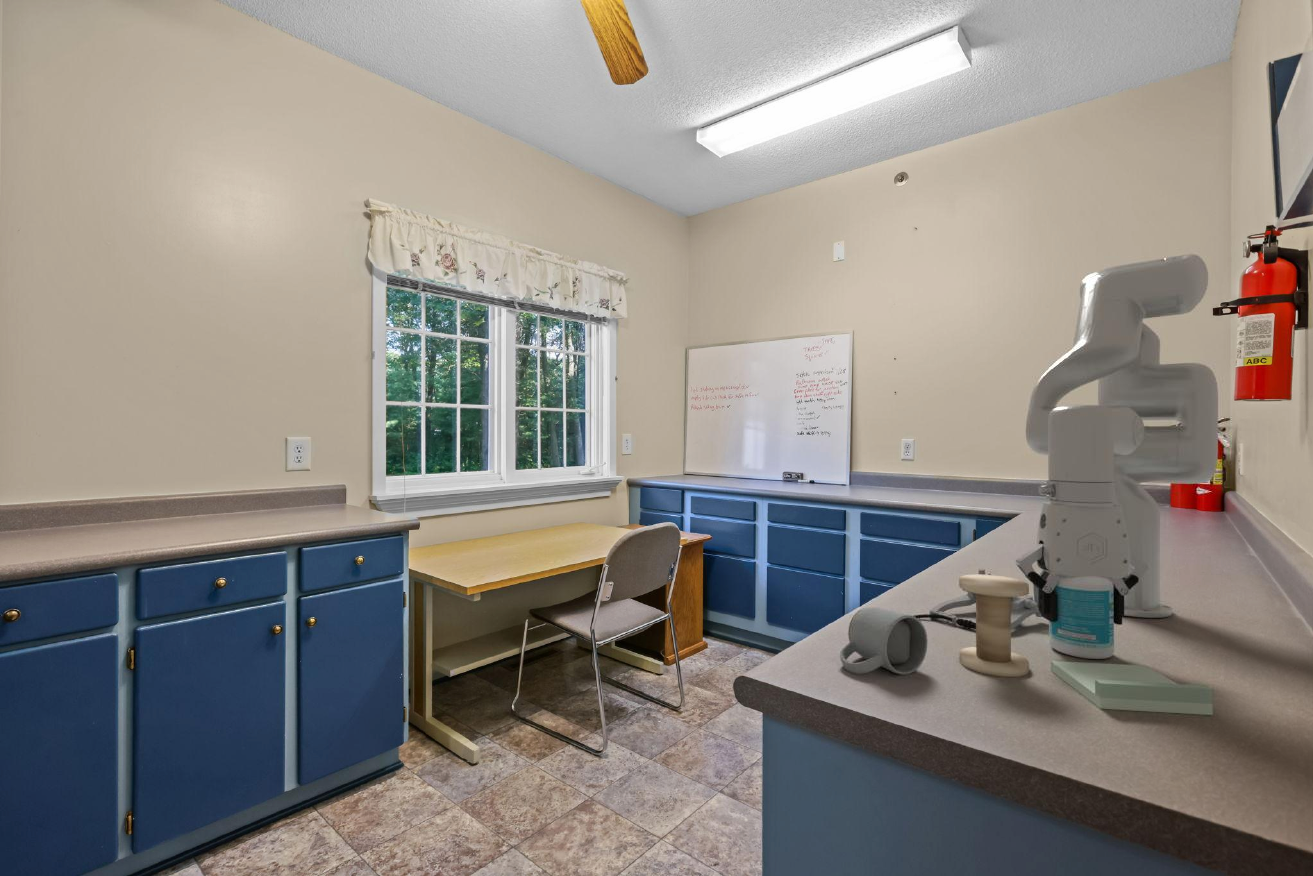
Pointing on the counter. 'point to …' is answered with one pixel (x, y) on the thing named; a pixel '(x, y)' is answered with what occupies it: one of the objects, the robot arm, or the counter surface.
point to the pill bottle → (1084, 617)
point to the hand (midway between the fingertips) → (1080, 619)
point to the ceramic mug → (885, 641)
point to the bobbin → (993, 626)
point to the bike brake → (1019, 606)
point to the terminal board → (1133, 688)
